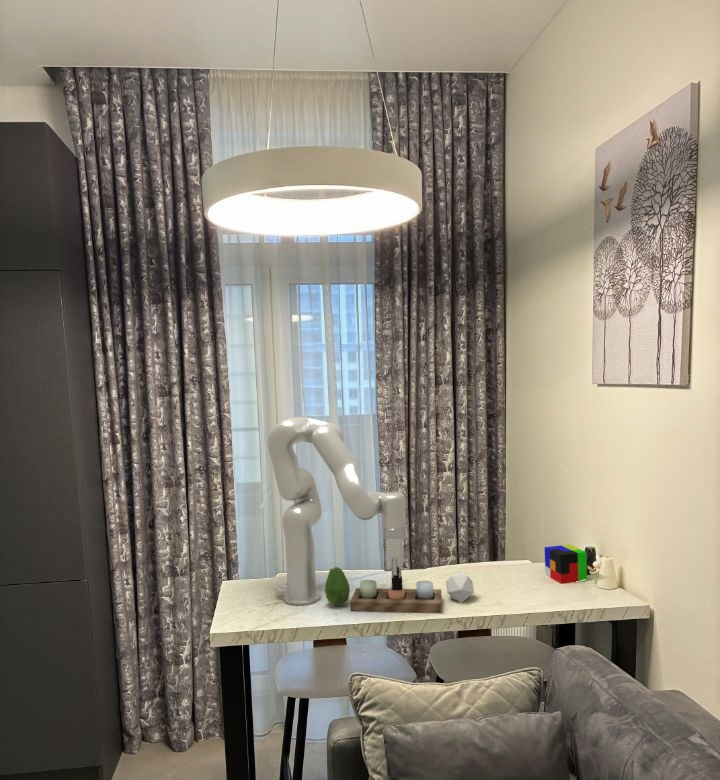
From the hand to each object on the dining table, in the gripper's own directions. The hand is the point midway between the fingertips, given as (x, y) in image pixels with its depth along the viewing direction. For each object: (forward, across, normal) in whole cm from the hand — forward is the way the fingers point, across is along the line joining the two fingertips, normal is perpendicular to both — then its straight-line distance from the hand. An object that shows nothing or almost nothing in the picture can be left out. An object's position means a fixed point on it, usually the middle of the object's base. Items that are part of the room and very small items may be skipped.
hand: (397, 589), depth 188 cm
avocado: (+5, +1, -19) cm, 20 cm away
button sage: (+2, 0, -9) cm, 10 cm away
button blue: (+2, 0, +9) cm, 9 cm away
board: (+5, 0, 0) cm, 5 cm away
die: (+6, -6, +20) cm, 21 cm away
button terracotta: (+4, 0, 0) cm, 4 cm away
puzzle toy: (+6, -28, +57) cm, 63 cm away
